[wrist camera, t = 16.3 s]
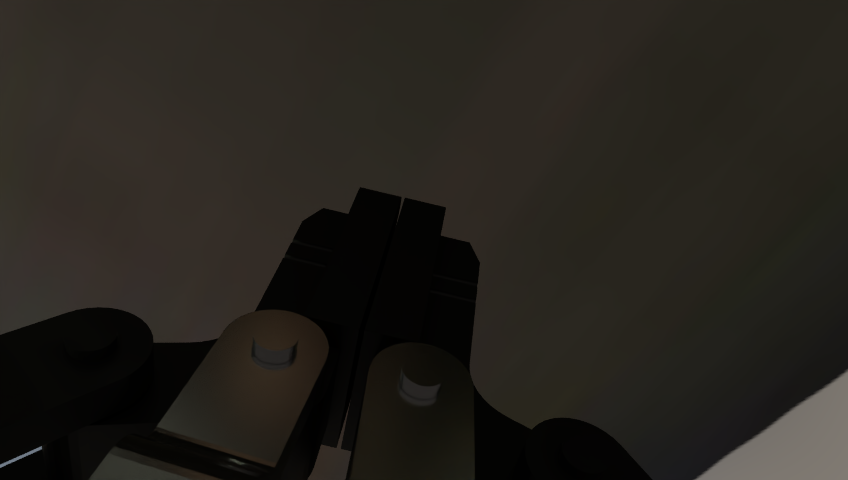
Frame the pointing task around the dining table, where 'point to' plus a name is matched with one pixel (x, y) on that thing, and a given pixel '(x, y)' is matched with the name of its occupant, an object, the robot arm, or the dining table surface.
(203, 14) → the dining table surface
